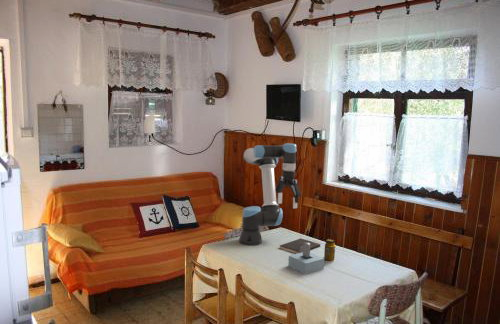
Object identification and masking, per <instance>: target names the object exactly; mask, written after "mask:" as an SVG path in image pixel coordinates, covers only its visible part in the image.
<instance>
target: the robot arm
mask: <svg viewBox="0 0 500 324" xmlns="http://www.w3.org/2000/svg"><path fill="white" fill-rule="evenodd" d="M242 157H243V160H244V161H245V162H246V163H248V164H251V165H258V168H259V169H260V170H261V180H262V181H261V183H262V193H263V194H262V195H263V204H262V205H261V207H260V206H258V205H252V206H246V207H245V208H243V210H242V215H241V216H242V220H241V221H242V225H241V233H240V235H239V239H238V240H239V241H238V243H241V244H242V245H245V246H246V245H247V246H256V245H260V244H262V243H263V242H262V241H263V238H262V235H261V230H260V229H261V227H276V226H279V225H281V223H282V222H283V209H282V208H281V207H280V204H281V205H282V203H283V191H284V189H285V187H289V188H290V190H291V192H292V194H293V198H292V201H293V202H292V209H298V203H299V198H300V197H302V193H301V189H300V186H299V180H298V179H295V177H296V169H297V168H296V165H297V164H296V163H297V162H296V161H297V144H296V143H284V144H280V145H255V146H254V147H249V148H247V149H245V150H244V151H243V156H242ZM279 159H282V170H281V171H282V173H281V176H279V177H278V179H279V180H278V182H277V184H276V179H275V168H276V167H277V164H278V163H279Z"/></svg>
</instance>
